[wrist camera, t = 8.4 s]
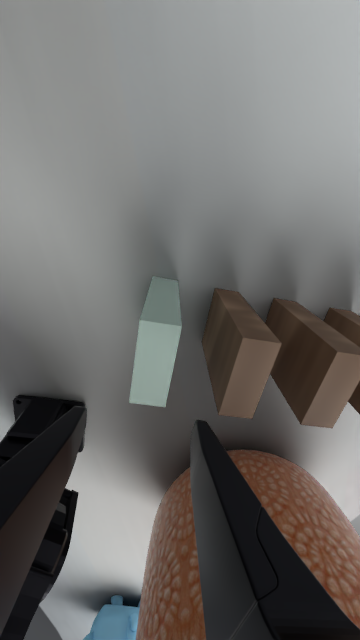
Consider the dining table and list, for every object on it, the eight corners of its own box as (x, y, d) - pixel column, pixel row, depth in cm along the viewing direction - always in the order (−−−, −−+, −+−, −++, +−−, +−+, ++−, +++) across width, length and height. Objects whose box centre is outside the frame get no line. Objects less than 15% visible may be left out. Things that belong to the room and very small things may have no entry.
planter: (284, 536, 35) (397, 862, 17) (138, 526, 33) (99, 884, 15) (350, 430, 27) (688, 844, 9) (160, 408, 25) (133, 885, 7)
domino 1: (177, 280, 19) (181, 326, 12) (167, 335, 21) (165, 407, 14) (152, 276, 19) (139, 320, 11) (144, 332, 21) (128, 402, 13)
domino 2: (238, 292, 20) (281, 343, 12) (223, 345, 22) (252, 418, 14) (214, 288, 20) (242, 337, 12) (201, 342, 22) (218, 414, 14)
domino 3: (296, 301, 20) (373, 357, 13) (276, 353, 22) (332, 428, 15) (273, 298, 20) (337, 351, 12) (255, 349, 22) (300, 424, 14)
